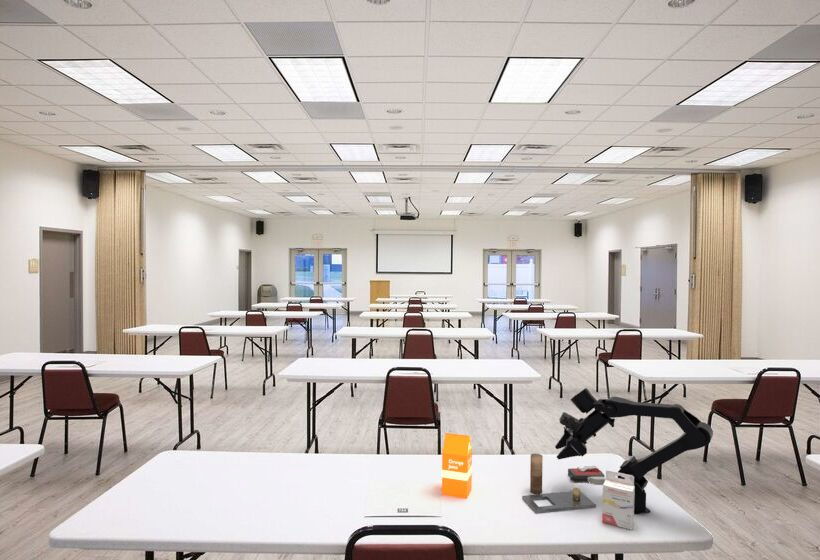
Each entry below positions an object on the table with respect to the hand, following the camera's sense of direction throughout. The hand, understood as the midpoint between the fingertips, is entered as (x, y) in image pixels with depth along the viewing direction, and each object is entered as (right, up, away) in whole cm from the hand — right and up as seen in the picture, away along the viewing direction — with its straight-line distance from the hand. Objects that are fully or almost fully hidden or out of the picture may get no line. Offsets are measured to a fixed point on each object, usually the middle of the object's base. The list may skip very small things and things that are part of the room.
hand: (556, 453), depth 166 cm
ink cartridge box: (+13, -15, -19) cm, 27 cm away
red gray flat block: (+18, -14, +12) cm, 25 cm away
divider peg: (-7, -14, +1) cm, 15 cm away
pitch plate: (-1, -14, -7) cm, 16 cm away
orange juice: (-34, -14, +1) cm, 37 cm away
